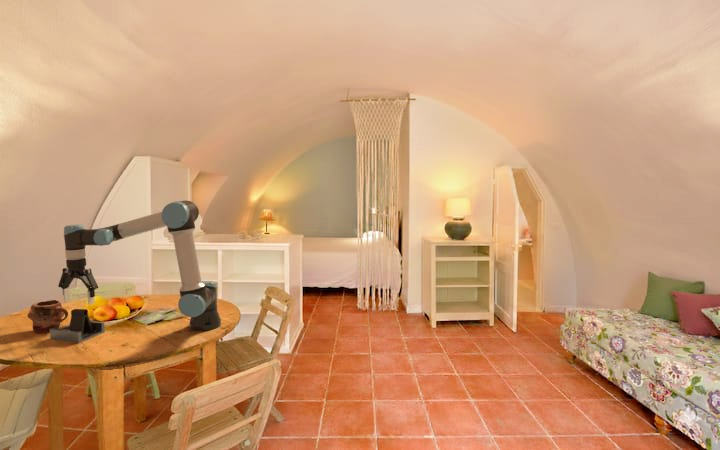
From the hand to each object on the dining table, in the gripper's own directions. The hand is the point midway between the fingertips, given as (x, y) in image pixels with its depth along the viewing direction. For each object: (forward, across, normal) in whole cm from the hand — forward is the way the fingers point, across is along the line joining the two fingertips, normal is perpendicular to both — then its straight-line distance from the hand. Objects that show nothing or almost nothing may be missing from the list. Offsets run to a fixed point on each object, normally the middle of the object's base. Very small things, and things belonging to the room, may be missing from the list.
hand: (79, 303), depth 189 cm
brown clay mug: (+16, +21, -2) cm, 26 cm away
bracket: (+16, +2, 0) cm, 16 cm away
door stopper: (+15, 0, 0) cm, 15 cm away
